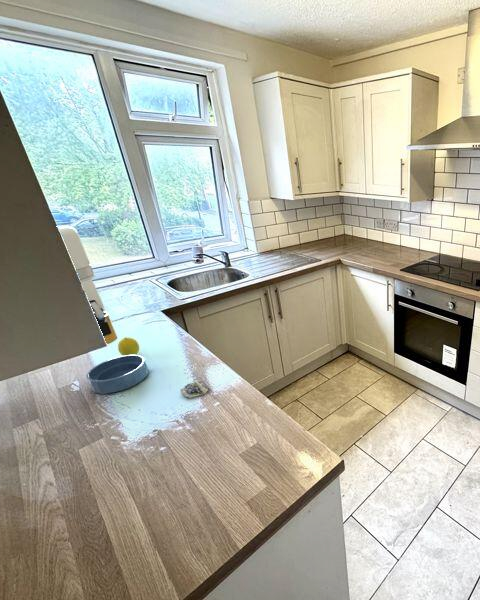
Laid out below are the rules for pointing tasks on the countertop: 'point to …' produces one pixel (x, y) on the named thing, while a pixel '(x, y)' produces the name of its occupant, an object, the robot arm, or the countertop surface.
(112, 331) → the cup
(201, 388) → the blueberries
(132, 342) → the lemon
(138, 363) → the bowl
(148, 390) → the countertop surface
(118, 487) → the countertop surface
